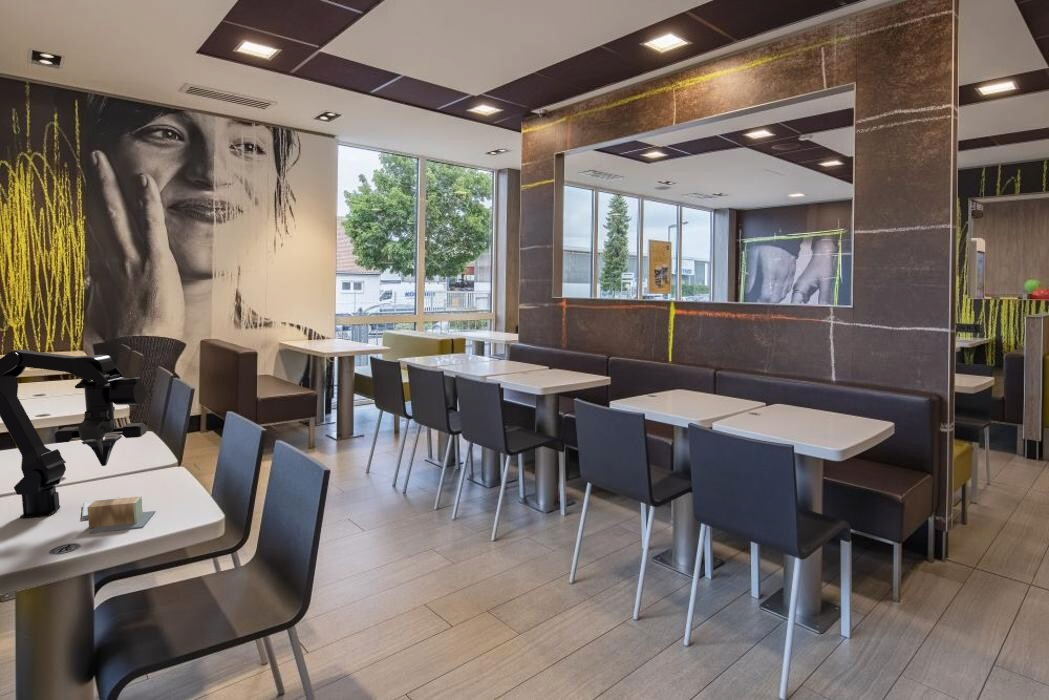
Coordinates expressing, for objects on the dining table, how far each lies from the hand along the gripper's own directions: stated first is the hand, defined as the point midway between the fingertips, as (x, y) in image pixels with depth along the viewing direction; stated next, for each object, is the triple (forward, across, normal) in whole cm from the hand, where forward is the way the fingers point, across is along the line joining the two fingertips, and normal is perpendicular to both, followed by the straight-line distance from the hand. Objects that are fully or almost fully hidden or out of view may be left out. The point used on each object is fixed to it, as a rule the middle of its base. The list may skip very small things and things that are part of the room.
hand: (104, 465), depth 159 cm
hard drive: (+13, -2, +2) cm, 13 cm away
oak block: (+9, 0, -10) cm, 14 cm away
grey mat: (+12, +6, -10) cm, 17 cm away
